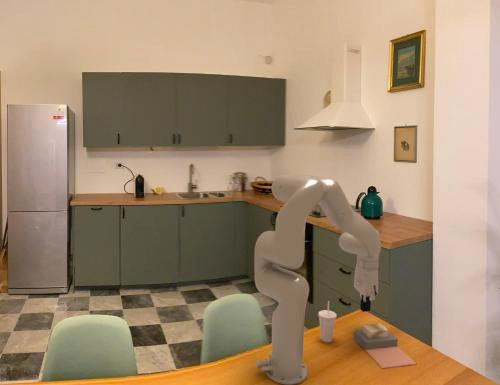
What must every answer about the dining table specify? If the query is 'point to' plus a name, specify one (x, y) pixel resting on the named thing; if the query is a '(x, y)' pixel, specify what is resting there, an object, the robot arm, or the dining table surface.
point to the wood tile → (375, 331)
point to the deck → (374, 341)
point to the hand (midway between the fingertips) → (365, 310)
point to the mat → (390, 357)
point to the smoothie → (327, 324)
